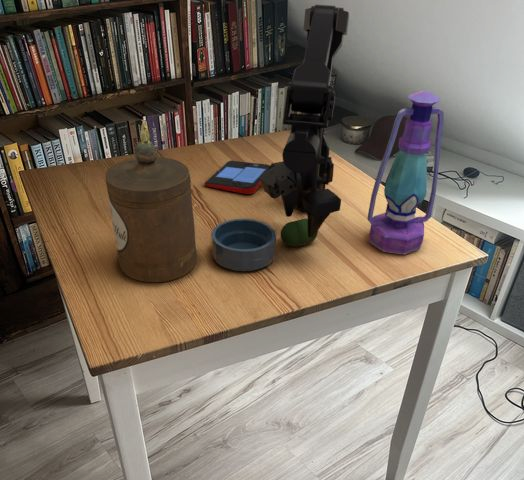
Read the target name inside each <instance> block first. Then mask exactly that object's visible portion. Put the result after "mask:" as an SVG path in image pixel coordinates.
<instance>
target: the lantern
mask: <svg viewBox="0 0 524 480" xmlns="http://www.w3.org/2000/svg"><path fill="white" fill-rule="evenodd" d="M408 100H409V101H410V102H411V103H412V104H411V107H407V108H406V107H404V108H402V109H400V110H399V111H398V112H397V115H396V117H395V120H394V122H393V126H392V129H391V133H390V137H389V139H388V143H387V146H386V149H385V151H384V154H383V157H382V160H381V163H380V165H379V169H378V172H377V175H376V178H375V181H374V184H373V188H372V192H371V195H370V196H371V197H370V201H369V207H368V212H367V218H366V219H367V221H368V223H369V224H370V228H369V234H368V235H369V238H368V243H369V244H371V245H372V246H374V247H376V248H377V249H378V250H380V251H381V252H382V253H391V254H399V255H406V254H407V255H408V254H409V253H412V252H416V251H418V250H420V249H421V247H422V244H423V243H424V237H425V223H426V222H428V221H429V220H430V219H431V218H432V215H433V209H434V205H435V198H436V193H437V185H438V177H439V167H440V159H441V150H442V149H441V148H442V136H443V135H442V134H443V130H444V129H443V128H444V116H445V115H444V110H443V109H441V108H439V107H438V106H436V107H435V106H434V105H436V104H438V103H440V97H439V96H437V95H435V94H434V93H432V92H430V91H428V90H421V91H416V92H414V93H413V92H412V93H410V94H408ZM432 115H437V122H436V132H435V143H434V159H433V160H434V161H433V163H434V164H433V173H432V174H433V175H432V183H431V190H430V196H429V200H428V205H427V209H426V213H425V215H424V216H416V214H417V208H418V206H420V205H421V203H422V202H423V201H424V200H425V198H426V196H427V185H428V184H427V182H428V181H427V180H428V179H427V178H428V177H427V176H428V165H427V164H428V161H427V160H428V159H427V158H428V157H427V153H429V152H430V150H431V149H432V141H431V140H430V136H431V133H432V132H431V131H432V120H431V116H432ZM404 116H409V117H406V120H405V124H404V129H403V133H402V136H400V137H399V138H398V149H399V151H398V152H397V154H396V156H395V157H394V160H393V162H392V164H391V166H390V170H389V172H388V175H387V177H386V179H385V183H384V189H383V192H384V193H383V194H384V197H385V199H386V209H385V212H383V213H380V214H379V213H378V214H376V215H374V211H375V206H376V202H377V201H376V200H377V196H378V193H379V189H380V185H381V182H382V179H383V176H384V173H385V170H386V167H387V163H388V161H389V160H390V156H391V154H392V150H393V147H394V145H395V142H396V139H397V135H398V131H399V128H400V124H401V122H402V119H403V117H404Z"/></svg>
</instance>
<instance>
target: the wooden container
mask: <svg viewBox="0 0 524 480" xmlns="http://www.w3.org/2000/svg"><path fill="white" fill-rule="evenodd" d="M191 182H192V180H191V174H190V169H189V168H188V166H187V165H186V164H185V163H184V162H182V161H179V160H176V159H173V158H170V157H164V156H157V153H156V154H155V153H154V152H153V151H151V150H150V149H142V150H140V151H139V152H138V153H137V155H136V158H135V157H131V158H127V159H124V160H120V161H118V162H116V163H114V164H113V165H111V166H110V167H109V168H108V169H107V170H106V171H105V185H106V190H107V191H106V192H107V194H108V201H109V207H110V208H109V209H110V214H111V222H112V229H113V235H114V241H115V246H116V252H117V257H118V262H119V266H120V269H121V271H122V272H123V273H124V274H125V275H126V276H128V277H129V278H131V279H133V280H136V281H140V282H146V283H163V282H169V281H173V280H176V279H180V278H181V277H184V276H185V275H187V274H188V273H190V272H191V271H192V270H193V269H194V268H195V266H196V263H197V259H198V258H197V246H196V245H197V244H196V230H195V219H194V210H193V209H194V208H193V199H192V189H191V188H192V185H191V184H192V183H191Z"/></svg>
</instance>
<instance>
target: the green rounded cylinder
mask: <svg viewBox="0 0 524 480" xmlns="http://www.w3.org/2000/svg"><path fill="white" fill-rule="evenodd" d="M318 233H319V230H318V231H317V233H316V234H315V236H314V237H311V238H309V237H308V218H301V219H297V220H293V221H289V222H287V223H285V224H284V225H283V226H282V228H281V230H280V239H281V241H282V243H283V244H284V245H286V246H288V247H294V248H295V247H298V246H302V245H306V244H311V243H312V242H314V241H315V240H316V239H317V237H318Z"/></svg>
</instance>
